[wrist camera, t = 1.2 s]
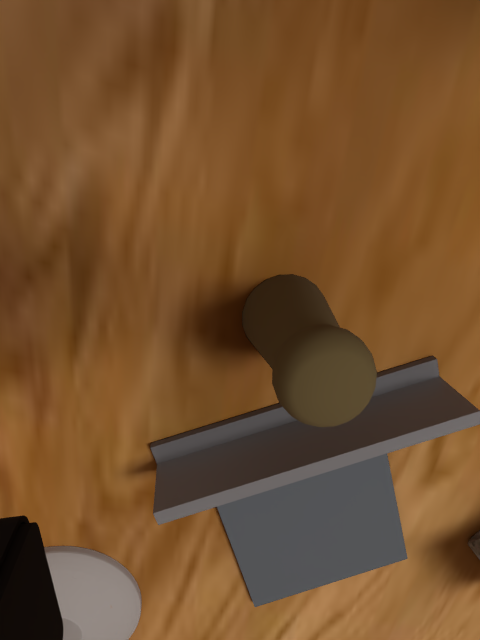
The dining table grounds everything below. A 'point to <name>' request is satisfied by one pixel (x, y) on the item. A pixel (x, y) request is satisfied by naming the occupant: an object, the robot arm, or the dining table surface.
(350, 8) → the dining table surface
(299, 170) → the dining table surface
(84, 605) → the candlestick
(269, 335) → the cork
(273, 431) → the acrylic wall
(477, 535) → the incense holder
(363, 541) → the slate mat
